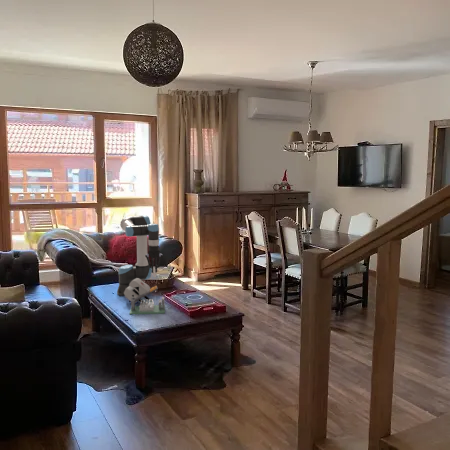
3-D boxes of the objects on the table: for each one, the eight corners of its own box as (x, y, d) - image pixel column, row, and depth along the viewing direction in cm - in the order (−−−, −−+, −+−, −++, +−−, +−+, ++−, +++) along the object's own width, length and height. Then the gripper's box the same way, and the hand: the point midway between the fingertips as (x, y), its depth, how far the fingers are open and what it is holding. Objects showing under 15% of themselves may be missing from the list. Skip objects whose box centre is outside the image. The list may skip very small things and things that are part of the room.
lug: (158, 307, 345) (158, 297, 344) (164, 307, 346) (164, 296, 345) (158, 309, 339) (158, 299, 338) (164, 309, 340) (164, 299, 339)
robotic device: (140, 314, 354) (154, 295, 350) (118, 297, 356) (132, 278, 352) (145, 310, 365) (159, 291, 360) (124, 294, 366) (137, 274, 362)
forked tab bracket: (131, 308, 343) (131, 297, 342) (135, 307, 344) (134, 297, 342) (131, 310, 337) (130, 300, 336) (134, 310, 337) (134, 300, 336)
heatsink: (140, 306, 347) (140, 299, 346) (154, 306, 348) (153, 299, 347) (139, 311, 335) (139, 304, 334) (153, 311, 336) (153, 304, 335)
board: (131, 307, 348) (131, 306, 348) (164, 306, 351) (164, 304, 351) (129, 314, 332) (129, 313, 332) (164, 313, 335) (164, 311, 335)
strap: (132, 301, 342) (131, 298, 342) (157, 287, 343) (156, 285, 343) (132, 303, 336) (130, 301, 336) (157, 289, 337) (155, 287, 337)
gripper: (144, 246, 331) (145, 278, 334) (162, 245, 332) (163, 277, 336) (144, 244, 338) (145, 276, 341) (162, 244, 340) (163, 275, 343)
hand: (154, 276), depth 339 cm, fingers closed
